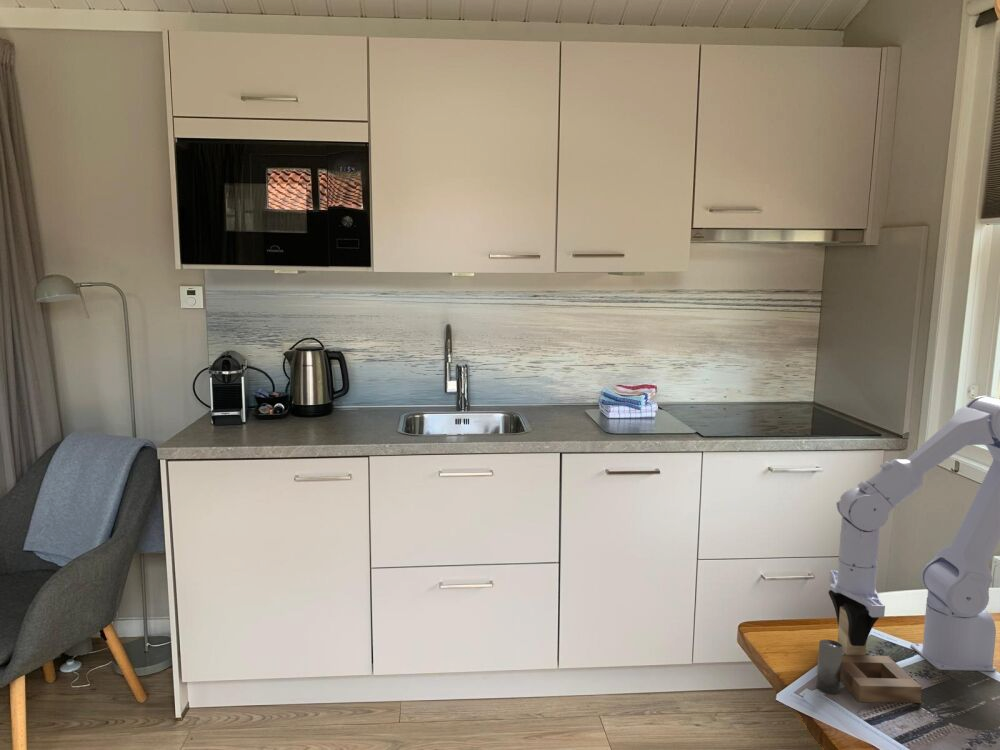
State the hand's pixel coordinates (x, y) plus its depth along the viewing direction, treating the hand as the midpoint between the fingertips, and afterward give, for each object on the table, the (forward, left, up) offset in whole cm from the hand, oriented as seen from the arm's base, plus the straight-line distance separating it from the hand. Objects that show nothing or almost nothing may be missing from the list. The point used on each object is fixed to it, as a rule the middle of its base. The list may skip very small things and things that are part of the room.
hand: (851, 639), depth 118 cm
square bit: (0, 0, -2) cm, 2 cm away
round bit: (+9, +12, -2) cm, 15 cm away
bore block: (+2, +11, -2) cm, 11 cm away
